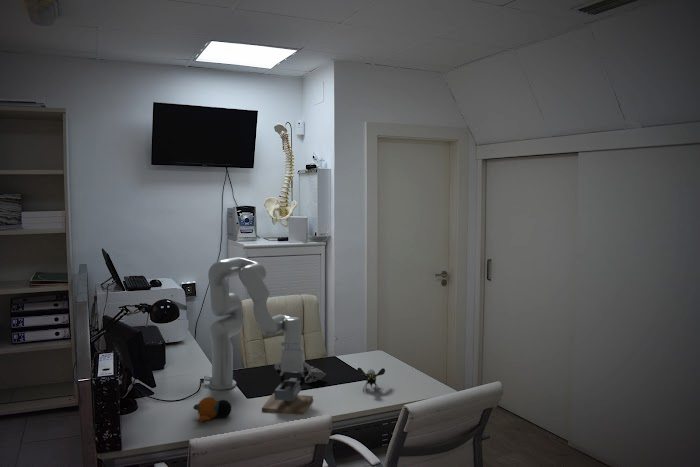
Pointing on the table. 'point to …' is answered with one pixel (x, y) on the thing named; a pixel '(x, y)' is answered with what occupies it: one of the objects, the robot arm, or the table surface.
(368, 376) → the insect
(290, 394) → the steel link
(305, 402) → the keeper board
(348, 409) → the table surface
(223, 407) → the toy
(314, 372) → the mineral specimen
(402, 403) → the table surface
